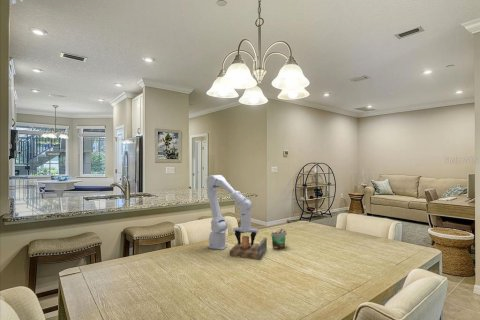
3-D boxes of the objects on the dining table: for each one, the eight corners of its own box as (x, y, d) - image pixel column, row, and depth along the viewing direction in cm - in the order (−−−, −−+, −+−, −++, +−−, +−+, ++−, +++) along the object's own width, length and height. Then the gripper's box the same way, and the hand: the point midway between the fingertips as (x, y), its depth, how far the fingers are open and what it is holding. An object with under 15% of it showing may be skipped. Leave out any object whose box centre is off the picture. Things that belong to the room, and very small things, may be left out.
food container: (280, 251, 153) (280, 234, 153) (271, 249, 156) (271, 232, 156) (290, 246, 162) (290, 229, 162) (281, 244, 166) (281, 228, 166)
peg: (241, 253, 150) (241, 237, 150) (243, 251, 154) (243, 235, 154) (247, 254, 149) (247, 238, 149) (250, 251, 152) (250, 236, 152)
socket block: (229, 255, 146) (229, 243, 146) (238, 246, 161) (238, 235, 161) (260, 259, 141) (260, 246, 141) (266, 249, 156) (266, 237, 156)
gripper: (231, 221, 150) (231, 245, 150) (256, 223, 146) (256, 248, 146) (235, 219, 157) (235, 241, 157) (259, 220, 152) (259, 244, 152)
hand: (245, 244), depth 152 cm, fingers open, 7 cm apart
